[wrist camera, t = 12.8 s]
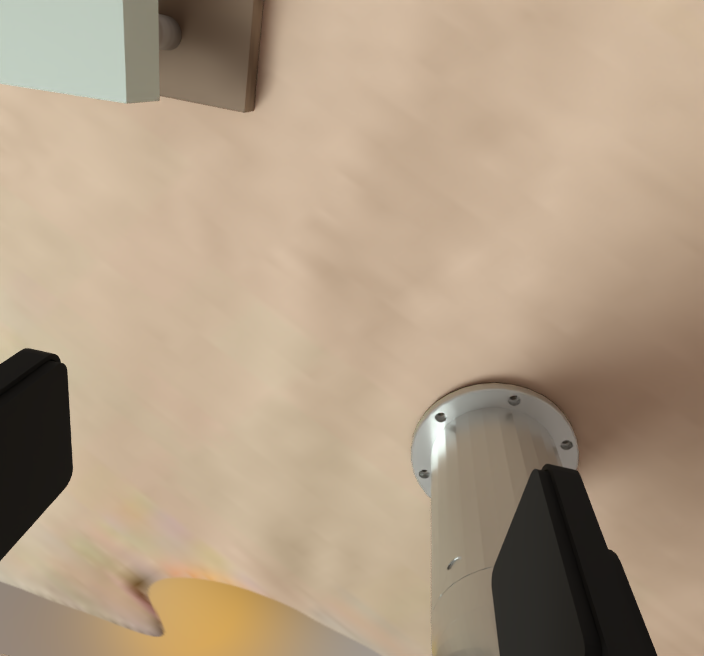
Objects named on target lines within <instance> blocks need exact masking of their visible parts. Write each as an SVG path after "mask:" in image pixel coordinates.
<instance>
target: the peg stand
mask: <svg viewBox="0 0 704 656" xmlns="http://www.w3.org/2000/svg"><path fill="white" fill-rule="evenodd" d="M263 2H264V0H158V19H159V93H160V96H163V97H168V98H173V99H178V100H183V101H188V102H193V103H198V104H203V105H208V106H213V107H218V108H223V109H228V110H233V111H238V112H243V113H245V112H250V111H254V102H255V91H256V80H257V69H258V58H259V46H260V35H261V24H262V13H263Z"/></svg>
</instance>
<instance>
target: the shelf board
mask: <svg viewBox="0 0 704 656" xmlns="http://www.w3.org/2000/svg"><path fill="white" fill-rule="evenodd" d="M0 84H6V85H12V86H18V87H25V88H31V89H37V90H44V91H50V92H57V93H63V94H69V95H76V96H82V97H88V98H95V99H101V100H108V101H114V102H120V103H138V102H150V101H160V93H159V19H158V0H0Z"/></svg>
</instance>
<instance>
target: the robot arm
mask: <svg viewBox="0 0 704 656" xmlns="http://www.w3.org/2000/svg"><path fill="white" fill-rule="evenodd" d="M511 396H514V397H511ZM578 458H579V450H578V444H577V439H576V436H575V434H574V431H573V429H572V426H571V425H570V423H569V421H568V420H567V418H566V416H565V414H564V413H563V412H562V411H561V410H560V409H559V408H558V407H557V406H556V405H555V404H554V403H553V402H551V401H550V400H548V399H547V398H545V397H544V396H543V395H541V394H538V393H536V392H534V391H532V390H530V389H527V388H524V387H520V386H516V385H512V384H501V383H487V384H477V385H473V386H469V387H465V388H462V389H459V390H457V391H454V392H452V393H450V394H448V395H446V396H445V397H443V398H442V399H440V400H439V401H437V402H436V403H435V404H434V405H433V406H431V407H430V408H429V409H428V410H427V411H426V412H425V414H424V415H423V417H422V418H421V420H420V421H419V423H418V424H417V427H416V429H415V432H414V435H413V440H412V446H411V462H412V467H413V472H414V474H415V477H416V479H417V481H418V483H419V485H420V486H421V488H422V489H423V490H424V492H425V493H426V494H427V495H428V496H429V497H430V498H431V647H432V656H657V654H656V651H655V648H654V646H653V643H652V641H651V638H650V636H649V633H648V631H647V628H646V626H645V623H644V620H643V618H642V615H641V613H640V610H639V608H638V605H637V603H636V600H635V597H634V595H633V592H632V590H631V587H630V585H629V582H628V580H627V577H626V575H625V572H624V569H623V567H622V564H621V562H620V560H619V558H618V556H617V554H616V553H614V552H613V551H612V550H609V549H608V548H607V545H606V543H605V540H604V537H603V535H602V532H601V529H600V527H599V524H598V521H597V519H596V516H595V513H594V511H593V508H592V505H591V503H590V500H589V497H588V495H587V492H586V489H585V487H584V484H583V481H582V479H581V476H580V474H579V472H578V471H577V467H578ZM72 472H73V463H72V445H71V428H70V410H69V392H68V375H67V367H66V366H65V364H63V363H61V361H60V359H59V357H58V356H57V355H56V354H52V353H48V352H43V351H39V350H34V349H30V348H25V349H23V350H21V351H19V352H18V353H16V354H15V355H13V356H12V357H10V358H9V359H7V360H6V361H4V362H3V363H1V364H0V561H1V559H2V558H3V557H4V556H5V555H6V554H7V553H8V552H9V550H10V549H11V548H12V547H13V546H14V545H15V544H16V543H17V541H18V540H19V539H20V538H21V537H22V536H23V535H24V534H25V533H26V531H27V530H28V529H29V528H30V527H31V526H32V525H33V524H34V522H35V521H36V520H37V519H38V518H39V517H40V516H41V515H42V513H43V512H44V511H45V510H46V509H47V508H48V507H49V506H50V504H51V503H52V502H53V501H54V500H55V499H56V498H57V497H58V495H59V494H60V493H61V492H62V491H63V490H64V489H65V487H66V486H67V485H68V483H69V481H70V479H71V476H72ZM0 656H9V655H5V654H0Z"/></svg>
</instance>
